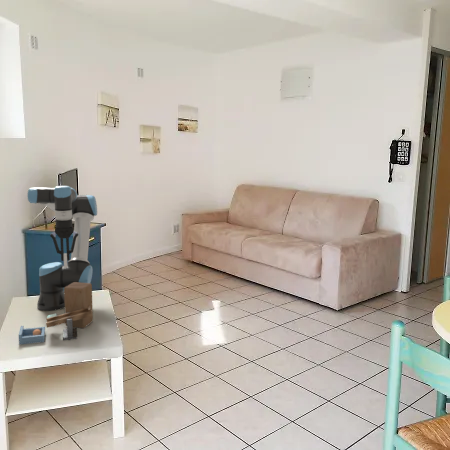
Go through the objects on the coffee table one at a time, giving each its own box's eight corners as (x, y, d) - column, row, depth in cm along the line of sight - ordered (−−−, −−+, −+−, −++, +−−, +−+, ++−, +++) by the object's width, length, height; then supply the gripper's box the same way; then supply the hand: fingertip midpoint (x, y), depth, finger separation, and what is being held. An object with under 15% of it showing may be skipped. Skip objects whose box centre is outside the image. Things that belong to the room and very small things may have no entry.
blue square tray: (21, 335, 219) (20, 325, 218) (45, 332, 222) (44, 323, 221) (19, 344, 209) (18, 334, 208) (44, 341, 212) (43, 332, 211)
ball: (37, 336, 218) (31, 332, 217) (43, 331, 218) (36, 326, 217) (37, 340, 214) (30, 335, 213) (42, 334, 215) (36, 329, 213)
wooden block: (83, 329, 227) (82, 289, 223) (64, 327, 229) (63, 287, 225) (93, 321, 237) (92, 282, 233) (75, 319, 239) (73, 281, 235)
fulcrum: (63, 340, 214) (62, 321, 213) (63, 330, 225) (62, 312, 223) (77, 338, 216) (76, 319, 215) (76, 329, 226) (76, 311, 225)
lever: (46, 328, 213) (45, 321, 213) (48, 317, 226) (46, 310, 225) (92, 316, 219) (90, 309, 218) (90, 306, 231) (89, 299, 230)
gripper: (48, 220, 219) (51, 270, 223) (78, 219, 223) (80, 268, 227) (49, 217, 226) (51, 265, 230) (78, 217, 230) (79, 264, 234)
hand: (65, 267), depth 229 cm, fingers closed
